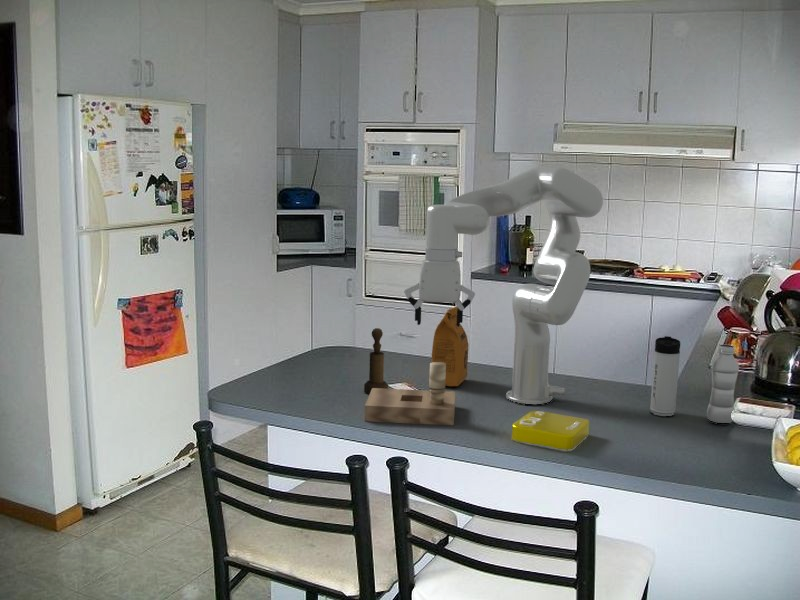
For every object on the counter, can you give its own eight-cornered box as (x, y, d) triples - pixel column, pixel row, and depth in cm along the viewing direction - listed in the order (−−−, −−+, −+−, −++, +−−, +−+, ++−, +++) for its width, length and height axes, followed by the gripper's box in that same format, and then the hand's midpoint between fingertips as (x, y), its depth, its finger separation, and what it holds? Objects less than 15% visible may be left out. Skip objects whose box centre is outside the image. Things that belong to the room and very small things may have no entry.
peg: (445, 400, 220) (446, 362, 219) (444, 405, 216) (445, 366, 215) (428, 400, 221) (430, 361, 219) (428, 404, 217) (429, 365, 215)
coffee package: (472, 380, 256) (475, 306, 252) (458, 390, 245) (461, 313, 241) (441, 376, 260) (443, 303, 256) (425, 386, 249) (428, 310, 245)
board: (454, 406, 230) (455, 391, 229) (453, 425, 214) (454, 409, 213) (372, 402, 231) (372, 387, 231) (364, 421, 216) (364, 405, 215)
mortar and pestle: (389, 389, 244) (390, 326, 241) (386, 396, 238) (388, 331, 235) (365, 388, 245) (366, 325, 242) (362, 394, 238) (363, 330, 235)
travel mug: (674, 411, 230) (680, 337, 226) (675, 418, 224) (681, 342, 220) (649, 408, 231) (655, 335, 228) (649, 416, 225) (655, 340, 222)
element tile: (570, 455, 196) (571, 434, 195) (508, 442, 203) (509, 423, 203) (590, 436, 209) (591, 417, 208) (531, 425, 216) (532, 407, 215)
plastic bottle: (700, 420, 222) (706, 344, 219) (721, 418, 225) (728, 342, 221) (717, 428, 216) (724, 349, 213) (739, 425, 219) (746, 348, 215)
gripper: (476, 255, 215) (473, 323, 218) (406, 252, 216) (404, 320, 219) (476, 259, 208) (473, 329, 211) (404, 256, 209) (402, 326, 212)
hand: (438, 324), depth 215 cm, fingers open, 9 cm apart
